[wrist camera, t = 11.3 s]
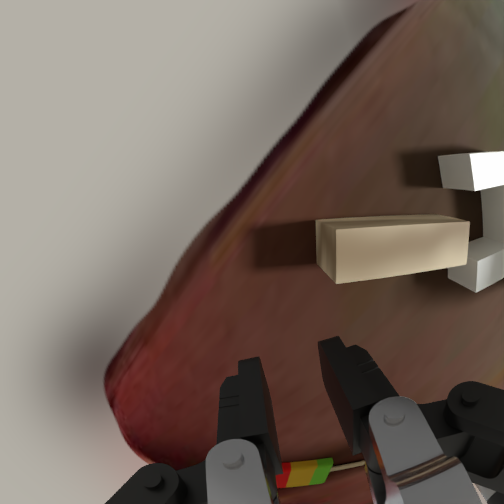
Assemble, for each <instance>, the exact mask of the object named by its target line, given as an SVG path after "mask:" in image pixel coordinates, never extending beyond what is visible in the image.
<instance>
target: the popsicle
mask: <svg viewBox="0 0 504 504" xmlns="http://www.w3.org/2000/svg"><path fill="white" fill-rule="evenodd" d="M364 464H365V461H360V462H355V463H350V464H345V465H339V466H334V467H332V466H333V459H332V457H331V458H324V459H317V460H309V461H299V462H287V463H282V469H283V474H279V475H275V476H276V483H277V488H286V487H296V486H305V485H313V484H320V483H324V482H325V480H326V478H327V476H328V474H329V472H331V471H336V470H342V469H347V468H352V467H357V466H361V465H364Z"/></svg>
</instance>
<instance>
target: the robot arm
mask: <svg viewBox="0 0 504 504" xmlns="http://www.w3.org/2000/svg"><path fill="white" fill-rule="evenodd" d="M318 350H319V357H320V364H321V371H322V377H323V381H324V385H325V388H326V391H327V393H328V396H329V398H330V400H331V403H332V405H333V408H334V410H335V413H336V415H337V417H338V420H339V422H340V425H341V427H342V430H343V432H344V435H345V437H346V440H347V442H348V445H349V447H350V449H351V452H352V454H353V455H356V454H358V453H361V452H362V454H363V457H364V459H365V471H366V475H367V479H368V483H369V486H370V490H371V494H372V498H373V502H374V504H482V503H481V500H480V498H479V496H478V494H477V492H476V490H475V488H474V486H473V484H472V483H475V485H476V486H477V488H478V489H479V491H480V492H481V494H482V495H483V497H484V498H485V500H486V501H487V503H488V504H504V390H502V389H499V388H495V387H492V386H489V385H485V384H482V383H479V382H474V381H468V382H463V383H460V384H458V385H456V386H455V387H454V388H453V389H452V390H451V391H450V393H449V394H448V398H447V399H446V400H441V401H437V402H432V403H428V404H416V403H415V402H414V401H413V400H411V399H409V398H406V397H400V396H399V395H398V393H397V392H396V391H395V389H394V388H393V386H392V385H391V383H390V382H389V381H388V379H387V378H386V376H385V375H384V374H383V372H382V371H381V370H380V368H378V365H377V364H376V363H375V361H373V358H372V357H371V356H370V354H369V353H368V352H367V350H365V349H363V348H361V347H359V346H357V345H353V346H350V347H347V348H346V347H345V345H344V344H343V342H342V340H341V339H340V337H339V336H336V337H332V338H329V339H326V340H322V341H319V342H318ZM219 399H220V401H219V413H218V430H217V444H216V446H214V447H213V448H212V449H211V450H210V451H209V453H208V455H207V457H206V460H205V461H203V462H201V463H199V464H197V465H194V466H191V467H188V468H185V469H181V470H178V471H175V470H174V469H173V468H172V467H171V466H169V465H166V464H162V463H153V464H149V465H146V466H144V467H142V468H140V469H139V470H138V471H137V472H136V473H135V474H134V475H133V476H132V477H131V478H130V479H129V480H128V481H127V482H126V483H125V484H124V485H123V486H122V487H121V488H120V489H119V490H118V491H117V492H116V493H115V494H114V495H113V496H112V497H111V498H110V499H109V500H108V501H107V502H106V503H105V504H281V503H280V500H279V496H278V493H277V483H276V476H275V475H279V474H283V469H282V463H281V457H280V451H279V444H278V438H277V432H276V426H275V420H274V414H273V407H272V401H271V397H270V392H269V389H268V385H267V382H266V378H265V375H264V371H263V368H262V364H261V361H260V358H259V357H254V358H249V359H245V360H240V361H238V375H236V376H230V377H226V379H225V381H224V382H223V384H222V385H221V387H220V397H219Z"/></svg>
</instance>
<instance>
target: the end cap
mask: <svg viewBox="0 0 504 504" xmlns="http://www.w3.org/2000/svg"><path fill="white" fill-rule="evenodd" d="M438 161H439V167H440V173H441V179H442V186H443V188H449V189H461V190H471V191H477V190H480V191H481V202H482V217H483V237H481V238H478V239H476V240H473V241H470V242H469V243H468V254H467V263H466V265H461V266H455V267H449V268H448V278H449V279H451V280H453V281H455V282H457V283H458V284H460V285H462V286H464V287H466V288H468V289H470V290H471V291H473V292H475V293H477V292H479V291H480V290H482V289H484V288H486V287H488V286H490V285H492V284H494V283H495V282H497V281H499V280H501V279H503V278H504V151H487V152H473V153H462V154H451V155H442V156H438Z"/></svg>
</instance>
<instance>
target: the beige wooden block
mask: <svg viewBox="0 0 504 504" xmlns="http://www.w3.org/2000/svg"><path fill="white" fill-rule="evenodd" d="M315 221H316V252H317V264H318V266H319V267H320V268H321V269H322V270H323V271H324V272H325V273H326V274H327V275H328V276H329V277H330V278H331V279H332V280H333V281H334V282H335V283H336V284H339V283H347V282H355V281H363V280H370V279H378V278H385V277H392V276H399V275H405V274H412V273H419V272H425V271H431V270H437V269H443V268H449V267H455V266H461V265H466V263H467V254H468V243H469V228H470V221H465V220H461V219H457V218H452V217H448V216H443V215H439V214H417V215H393V216H372V217H353V218H336V219H320V220H315Z"/></svg>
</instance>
